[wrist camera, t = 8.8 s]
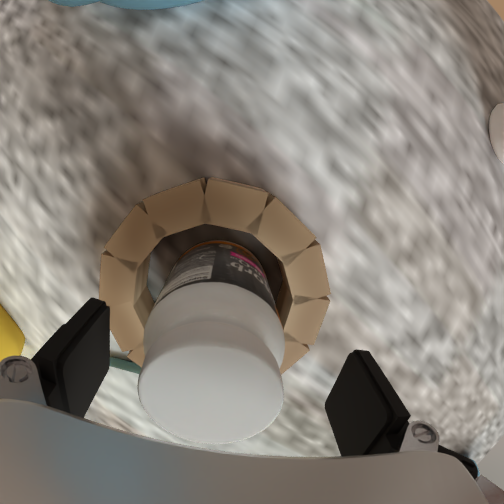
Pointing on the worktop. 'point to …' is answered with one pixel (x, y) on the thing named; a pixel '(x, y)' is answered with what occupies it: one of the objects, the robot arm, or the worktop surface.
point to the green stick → (125, 365)
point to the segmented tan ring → (225, 215)
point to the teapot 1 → (9, 336)
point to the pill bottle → (213, 348)
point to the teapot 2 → (130, 3)
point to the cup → (497, 131)
